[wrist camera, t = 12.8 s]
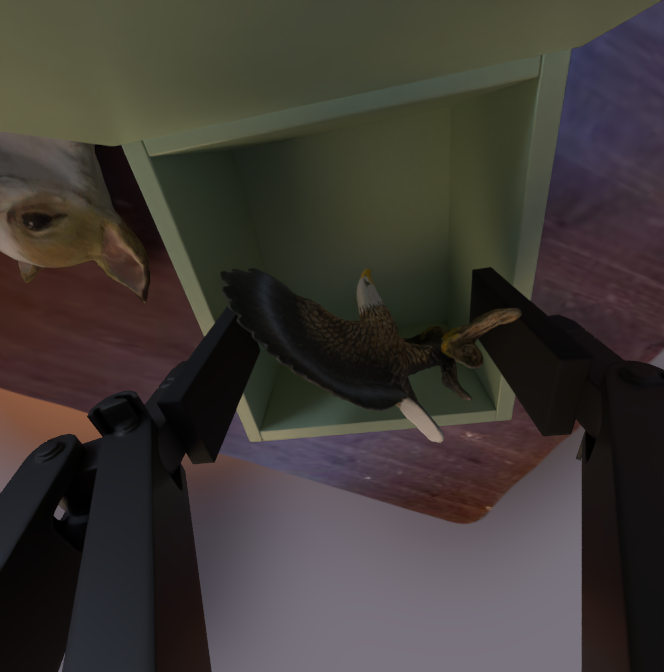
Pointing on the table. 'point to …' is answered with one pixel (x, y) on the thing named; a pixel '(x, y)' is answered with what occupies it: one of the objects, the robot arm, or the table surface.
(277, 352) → the eagle figurine
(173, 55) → the lid
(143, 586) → the robot arm
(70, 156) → the ceramic sculpture
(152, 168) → the chest
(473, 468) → the table surface
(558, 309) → the table surface
